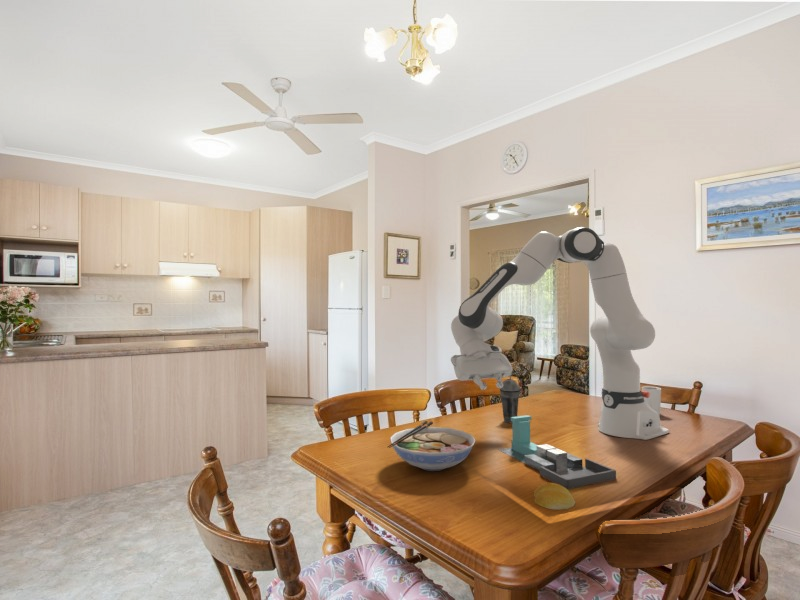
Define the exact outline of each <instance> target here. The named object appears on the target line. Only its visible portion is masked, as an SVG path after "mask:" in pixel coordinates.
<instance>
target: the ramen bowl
mask: <svg viewBox="0 0 800 600" xmlns="http://www.w3.org/2000/svg"><path fill="white" fill-rule="evenodd" d="M433 422H434V421H430V422H428V421H427V420H425V421H423V422H422V423H421V424H419V425H417V426H416V427H414V428H413V427H412V428H406V429H404V430H400V431H397V432H394V433H393V434H392V435H391V436H390V437H389V438H390V443H391V444H389V445H388V446H387V448H389V449H390V448H393V449H394V451H395V452H396V454H397V455H398V456H399V458H400V459H402V461H405V462H406V463H407V464H409V465H410V466H413V467H417V468H420V469H421V470H423V471H429V472H438V471H443V470H445V469H448V468H451V467H454V466H456V465H458V464H460V463H462V462H463V461H464V460H465V459H466V458H468V456H469V454H470V453H471V451H472V449H473V446H474V445H475V443H476V438H475V437H474V436H473V434H470V433H468V432H466V431H463V430H460V429H455V428H450V427H443V426H442V427H440V426H439V427H438V426H432V425H433V424H434V423H433Z"/></svg>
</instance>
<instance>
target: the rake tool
mask: <svg viewBox="0 0 800 600" xmlns="http://www.w3.org/2000/svg"><path fill="white" fill-rule="evenodd" d="M531 420H532V416H531V415H528V414H527V415H517V417H511V421H512V423H511V424H512V425H511V426H512V439H511V449H513V450H515V451H517V452H519V453H521V454H523V455H531V454H534V455H536V456H537V446H538V444H536V443H534V442H532V441H531Z"/></svg>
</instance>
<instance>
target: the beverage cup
mask: <svg viewBox="0 0 800 600" xmlns="http://www.w3.org/2000/svg"><path fill="white" fill-rule="evenodd" d="M502 383H503V387H502V388H499V392H500V396H501V407H502V416H503V422H504V423H507V424H512V421H511V417H517V416H518V410H519V398H520V394H521V392H520V391H521V389H520V385H519V384H518V382H517V381H516V380H514V379H513V378H512V373H511V374H510V376H509V378H507V379H504V380H502Z"/></svg>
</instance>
